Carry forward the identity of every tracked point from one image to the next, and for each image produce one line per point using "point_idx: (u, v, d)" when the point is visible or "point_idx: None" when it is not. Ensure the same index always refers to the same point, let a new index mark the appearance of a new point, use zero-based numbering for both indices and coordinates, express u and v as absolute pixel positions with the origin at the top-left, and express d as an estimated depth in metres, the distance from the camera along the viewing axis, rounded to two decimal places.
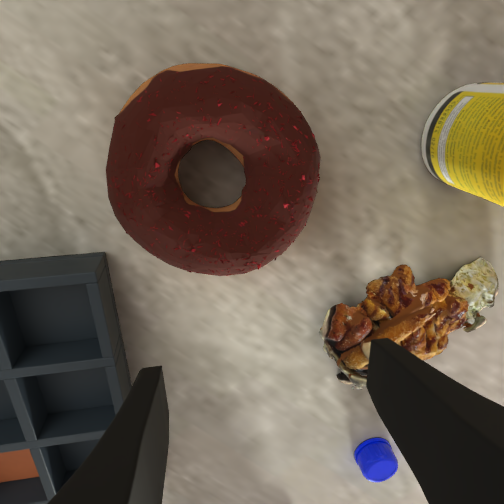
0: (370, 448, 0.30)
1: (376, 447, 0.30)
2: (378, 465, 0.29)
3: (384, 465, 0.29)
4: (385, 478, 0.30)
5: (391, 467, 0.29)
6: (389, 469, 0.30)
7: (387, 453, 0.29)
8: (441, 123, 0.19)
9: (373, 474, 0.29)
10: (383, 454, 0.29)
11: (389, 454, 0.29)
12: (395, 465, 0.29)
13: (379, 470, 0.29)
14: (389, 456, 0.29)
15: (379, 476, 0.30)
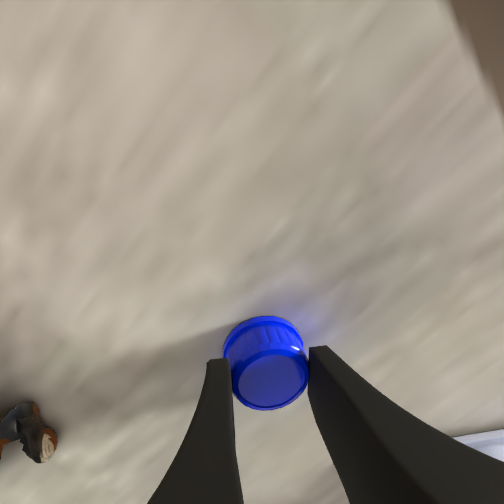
0: None
1: None
2: (253, 391, 0.13)
3: (255, 379, 0.13)
4: (299, 368, 0.13)
5: (265, 363, 0.13)
6: (271, 366, 0.13)
7: (230, 368, 0.13)
8: None
9: (279, 394, 0.13)
10: None
11: (232, 366, 0.13)
12: (261, 356, 0.13)
13: (269, 386, 0.13)
14: (233, 370, 0.13)
15: (289, 381, 0.13)
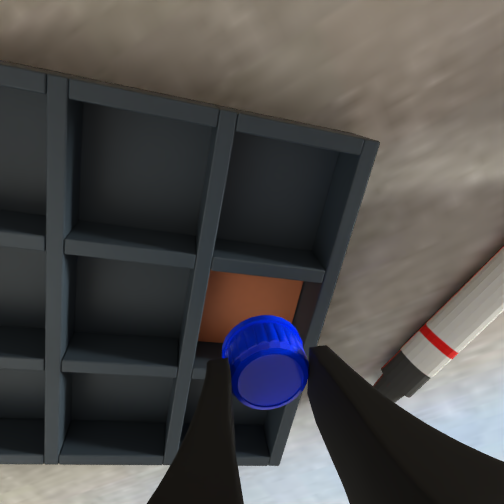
0: None
1: None
2: (252, 390, 0.13)
3: (254, 379, 0.13)
4: (298, 367, 0.13)
5: (265, 363, 0.13)
6: (270, 365, 0.13)
7: None
8: None
9: (278, 394, 0.13)
10: None
11: (231, 365, 0.13)
12: (260, 355, 0.13)
13: (269, 385, 0.13)
14: (232, 369, 0.13)
15: (288, 381, 0.13)
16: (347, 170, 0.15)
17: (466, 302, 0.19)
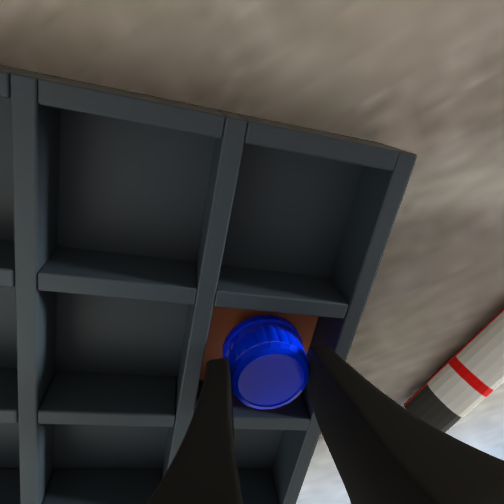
0: None
1: None
2: (252, 390, 0.13)
3: (255, 378, 0.13)
4: (299, 367, 0.13)
5: (265, 362, 0.13)
6: (271, 365, 0.13)
7: None
8: None
9: (279, 393, 0.13)
10: None
11: (231, 365, 0.13)
12: (261, 355, 0.13)
13: (269, 384, 0.13)
14: (233, 369, 0.13)
15: (289, 380, 0.13)
16: (375, 187, 0.12)
17: None
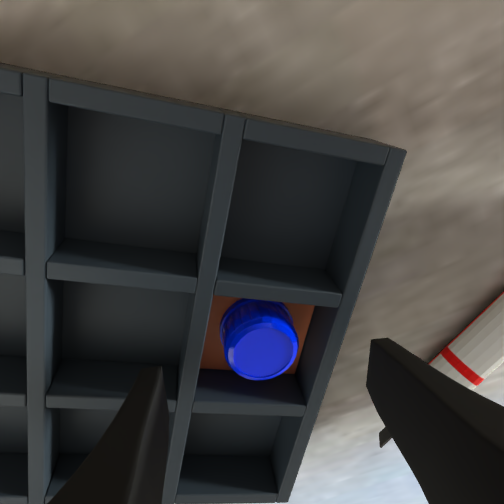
0: None
1: (223, 345, 0.15)
2: (246, 362, 0.14)
3: (249, 351, 0.14)
4: (288, 340, 0.14)
5: (258, 336, 0.14)
6: (263, 339, 0.14)
7: (225, 341, 0.14)
8: None
9: (270, 365, 0.15)
10: (225, 350, 0.14)
11: (227, 338, 0.14)
12: (254, 329, 0.14)
13: (261, 357, 0.14)
14: (229, 342, 0.14)
15: (279, 353, 0.14)
16: (368, 182, 0.13)
17: (494, 324, 0.17)
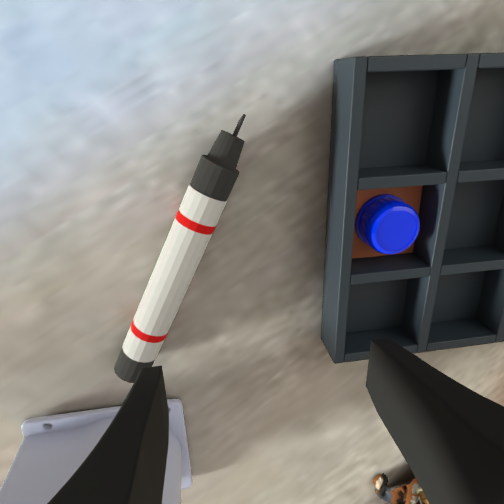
0: None
1: None
2: (407, 221, 0.20)
3: (406, 230, 0.20)
4: (379, 243, 0.20)
5: (400, 243, 0.20)
6: (397, 241, 0.20)
7: None
8: None
9: (389, 221, 0.20)
10: None
11: None
12: (403, 247, 0.20)
13: (396, 227, 0.20)
14: None
15: (384, 232, 0.20)
16: None
17: (195, 268, 0.20)
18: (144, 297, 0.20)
